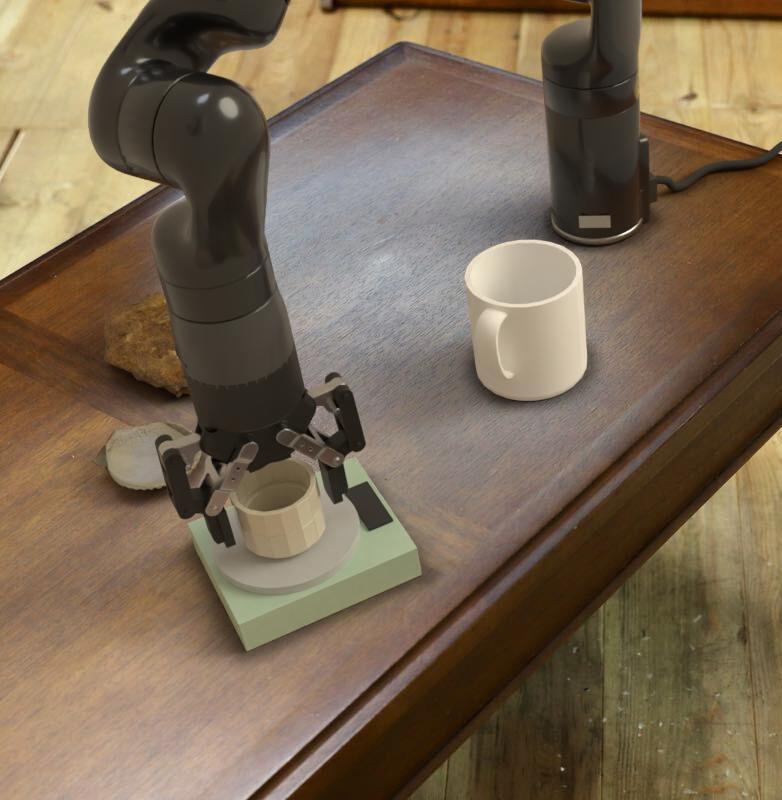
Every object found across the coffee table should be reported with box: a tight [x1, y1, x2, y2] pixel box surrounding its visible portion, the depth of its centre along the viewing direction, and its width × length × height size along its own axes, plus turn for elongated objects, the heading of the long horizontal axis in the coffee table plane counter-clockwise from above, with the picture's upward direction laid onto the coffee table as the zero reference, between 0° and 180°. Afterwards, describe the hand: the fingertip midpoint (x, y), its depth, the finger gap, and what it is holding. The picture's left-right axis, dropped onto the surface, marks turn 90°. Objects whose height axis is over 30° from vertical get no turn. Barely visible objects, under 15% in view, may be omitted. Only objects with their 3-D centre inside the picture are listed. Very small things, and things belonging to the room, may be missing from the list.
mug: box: [464, 239, 588, 402], centre depth 120 cm, size 13×10×10 cm
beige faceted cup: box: [229, 456, 326, 559], centre depth 102 cm, size 6×6×5 cm
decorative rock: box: [103, 292, 190, 398], centre depth 126 cm, size 11×4×15 cm
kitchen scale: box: [186, 456, 423, 652], centre depth 105 cm, size 14×12×4 cm
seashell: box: [92, 421, 203, 492], centre depth 114 cm, size 8×3×8 cm
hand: (282, 517), depth 103 cm, fingers open, 8 cm apart
